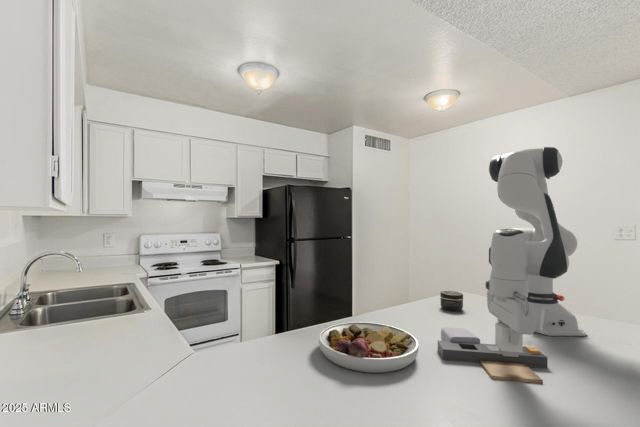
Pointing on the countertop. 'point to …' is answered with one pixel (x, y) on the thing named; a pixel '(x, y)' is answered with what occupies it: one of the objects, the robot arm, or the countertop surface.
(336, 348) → the bowl
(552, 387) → the countertop surface
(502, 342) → the charger
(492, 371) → the cork mat
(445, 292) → the jar
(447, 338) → the charger
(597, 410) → the countertop surface
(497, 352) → the power strip
